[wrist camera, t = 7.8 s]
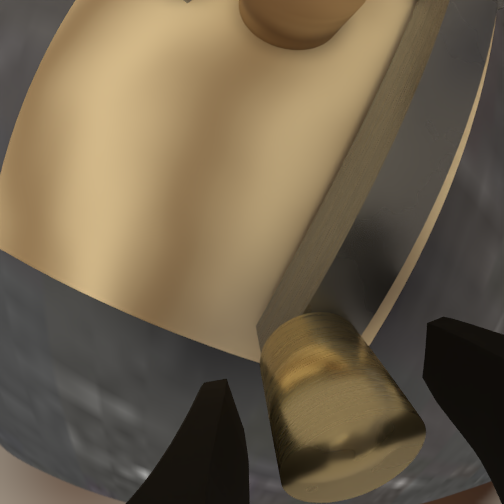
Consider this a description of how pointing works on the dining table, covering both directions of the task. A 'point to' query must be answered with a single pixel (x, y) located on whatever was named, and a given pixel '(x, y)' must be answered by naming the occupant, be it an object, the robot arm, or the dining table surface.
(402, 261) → the press lever
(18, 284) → the dining table surface
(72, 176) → the board
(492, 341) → the robot arm
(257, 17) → the brown cylinder
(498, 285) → the dining table surface
